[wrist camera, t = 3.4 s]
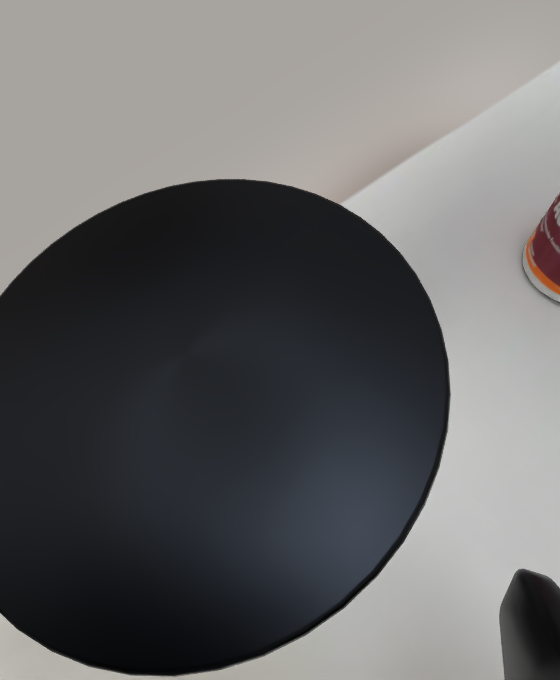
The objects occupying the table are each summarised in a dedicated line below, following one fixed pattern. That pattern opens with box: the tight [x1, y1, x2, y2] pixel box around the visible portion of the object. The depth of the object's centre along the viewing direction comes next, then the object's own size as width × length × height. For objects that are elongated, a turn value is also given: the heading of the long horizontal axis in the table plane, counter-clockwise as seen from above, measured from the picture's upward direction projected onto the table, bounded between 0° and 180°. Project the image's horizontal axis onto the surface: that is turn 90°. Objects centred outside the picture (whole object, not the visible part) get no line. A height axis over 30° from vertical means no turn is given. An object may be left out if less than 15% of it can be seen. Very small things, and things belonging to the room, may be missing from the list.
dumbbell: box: [0, 179, 451, 677], centre depth 9 cm, size 5×5×13 cm
